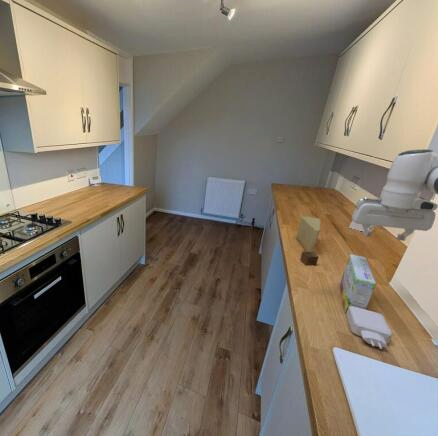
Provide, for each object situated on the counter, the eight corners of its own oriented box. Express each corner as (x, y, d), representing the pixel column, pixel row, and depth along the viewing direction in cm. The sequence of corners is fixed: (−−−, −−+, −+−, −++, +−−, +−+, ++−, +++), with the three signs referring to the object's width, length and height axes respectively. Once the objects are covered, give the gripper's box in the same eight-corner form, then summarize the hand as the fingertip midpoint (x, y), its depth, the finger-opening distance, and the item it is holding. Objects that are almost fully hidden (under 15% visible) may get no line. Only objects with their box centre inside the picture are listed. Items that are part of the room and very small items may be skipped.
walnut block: (309, 260, 121) (312, 251, 119) (316, 265, 116) (318, 256, 114) (299, 260, 121) (302, 251, 119) (305, 265, 116) (308, 256, 114)
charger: (354, 346, 73) (345, 315, 85) (395, 360, 68) (379, 325, 81) (359, 334, 71) (349, 305, 83) (401, 348, 67) (384, 314, 79)
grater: (354, 225, 167) (364, 198, 160) (373, 230, 159) (384, 201, 152) (348, 228, 162) (358, 200, 155) (367, 233, 154) (378, 204, 147)
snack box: (338, 283, 103) (349, 253, 97) (354, 288, 100) (367, 257, 94) (343, 313, 86) (356, 278, 81) (363, 319, 83) (378, 284, 78)
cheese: (321, 257, 123) (329, 231, 118) (299, 253, 127) (306, 228, 122) (314, 241, 142) (321, 217, 137) (295, 237, 146) (301, 215, 141)
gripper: (362, 199, 79) (350, 236, 84) (445, 205, 73) (427, 246, 77) (355, 195, 85) (344, 230, 90) (431, 200, 78) (414, 238, 83)
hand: (383, 237), depth 83 cm, fingers open, 8 cm apart
